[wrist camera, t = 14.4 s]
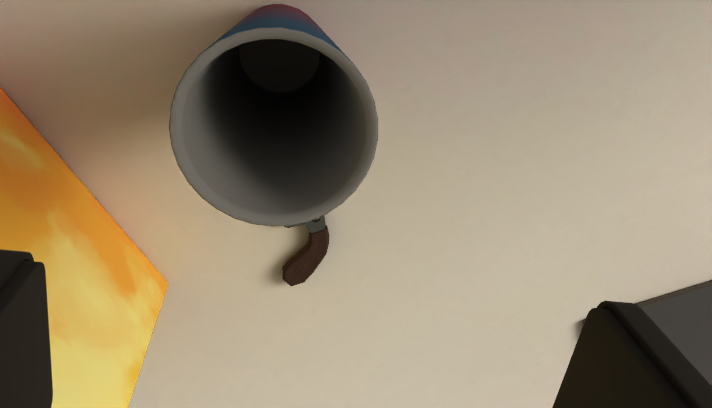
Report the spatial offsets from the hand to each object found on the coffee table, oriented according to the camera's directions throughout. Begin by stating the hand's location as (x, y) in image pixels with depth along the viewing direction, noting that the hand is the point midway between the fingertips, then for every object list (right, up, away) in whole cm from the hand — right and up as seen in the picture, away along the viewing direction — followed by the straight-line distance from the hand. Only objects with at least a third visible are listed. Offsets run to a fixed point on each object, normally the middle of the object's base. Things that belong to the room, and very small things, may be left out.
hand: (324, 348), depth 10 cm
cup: (-4, +11, +23) cm, 26 cm away
